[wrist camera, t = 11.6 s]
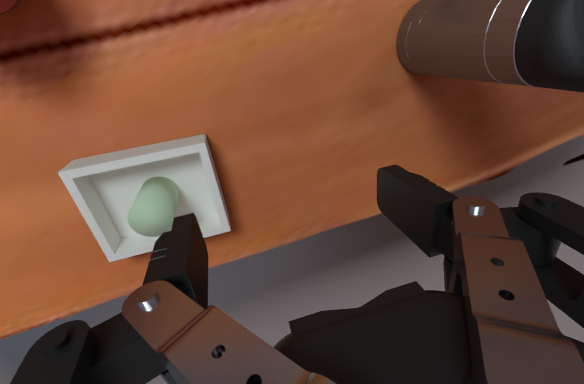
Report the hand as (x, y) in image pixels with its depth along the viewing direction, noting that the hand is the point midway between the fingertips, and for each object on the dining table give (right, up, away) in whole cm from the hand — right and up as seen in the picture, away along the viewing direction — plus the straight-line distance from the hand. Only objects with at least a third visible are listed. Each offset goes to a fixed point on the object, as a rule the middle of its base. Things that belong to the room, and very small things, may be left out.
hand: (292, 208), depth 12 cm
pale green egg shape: (-18, +1, +26) cm, 32 cm away
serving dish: (-18, +1, +27) cm, 32 cm away
